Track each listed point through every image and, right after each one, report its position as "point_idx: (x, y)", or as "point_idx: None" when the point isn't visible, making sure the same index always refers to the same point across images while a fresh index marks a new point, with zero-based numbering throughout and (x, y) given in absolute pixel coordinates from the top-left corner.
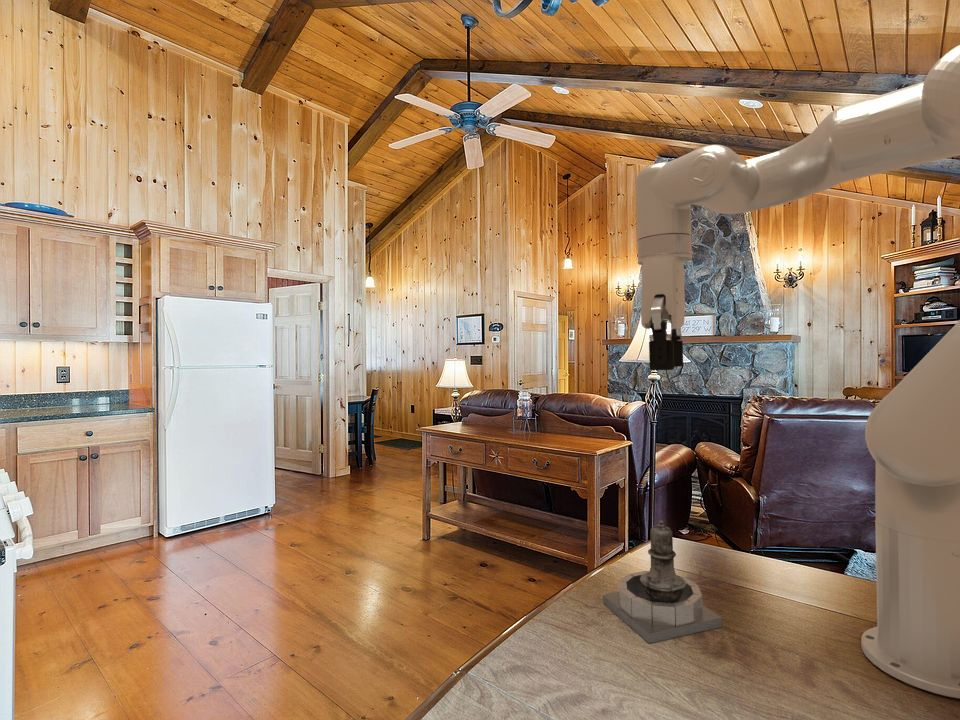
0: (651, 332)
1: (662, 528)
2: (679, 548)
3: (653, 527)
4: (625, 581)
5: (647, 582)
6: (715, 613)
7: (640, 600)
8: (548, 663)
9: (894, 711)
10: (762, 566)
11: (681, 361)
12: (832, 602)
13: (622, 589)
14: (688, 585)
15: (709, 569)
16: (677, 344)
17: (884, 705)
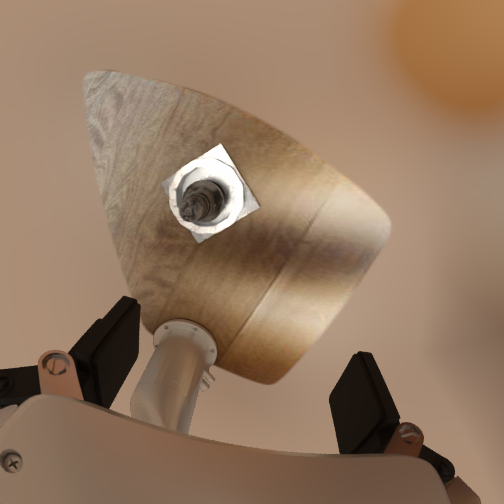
0: (41, 379)
1: (183, 212)
2: (366, 232)
3: (188, 202)
4: (212, 165)
5: (193, 187)
6: (204, 239)
7: (176, 179)
8: (127, 115)
9: None
10: (325, 299)
11: (330, 407)
12: (258, 328)
13: (194, 162)
14: (217, 224)
15: (314, 252)
16: (346, 446)
17: None
